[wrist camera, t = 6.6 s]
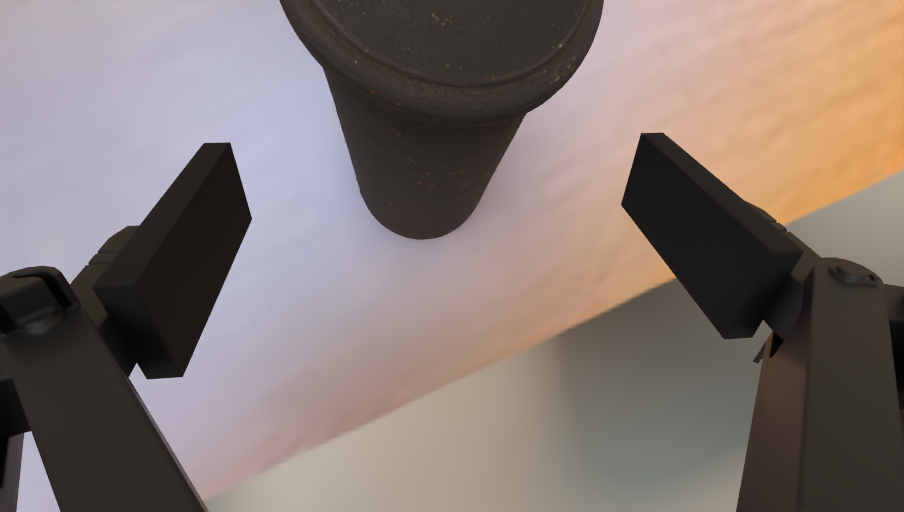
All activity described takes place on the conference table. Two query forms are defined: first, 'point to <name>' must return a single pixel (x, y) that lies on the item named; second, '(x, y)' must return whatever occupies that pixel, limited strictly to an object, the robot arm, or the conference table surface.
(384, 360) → the conference table surface
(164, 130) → the conference table surface
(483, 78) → the container
